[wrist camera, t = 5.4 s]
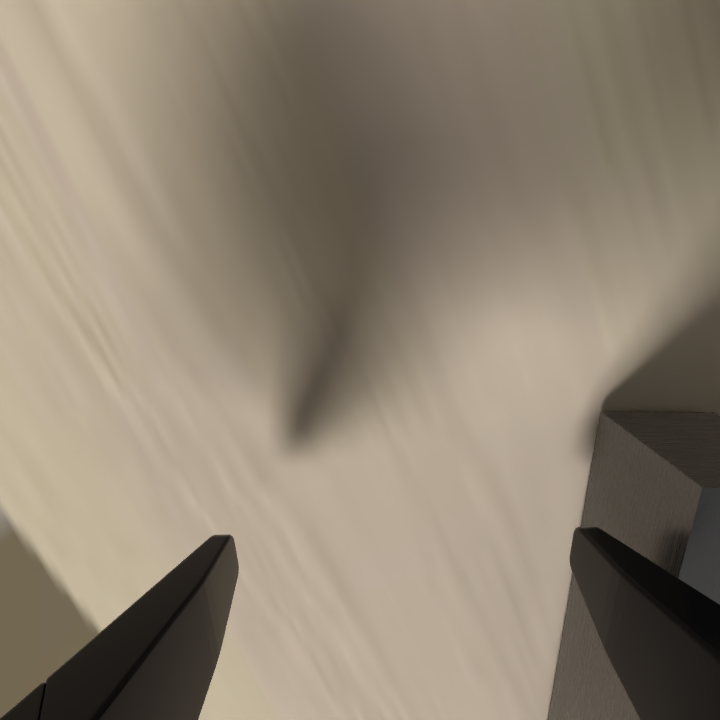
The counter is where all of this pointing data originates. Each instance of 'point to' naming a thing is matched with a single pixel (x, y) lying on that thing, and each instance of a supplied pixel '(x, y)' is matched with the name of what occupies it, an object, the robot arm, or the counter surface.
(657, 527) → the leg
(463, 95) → the counter surface
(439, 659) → the counter surface
